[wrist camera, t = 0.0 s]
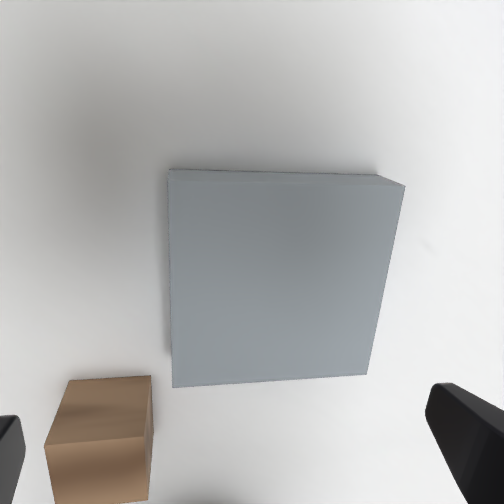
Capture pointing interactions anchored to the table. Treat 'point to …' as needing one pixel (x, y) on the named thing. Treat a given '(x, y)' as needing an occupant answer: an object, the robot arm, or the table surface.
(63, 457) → the walnut cube
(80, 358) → the table surface
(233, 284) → the grey base
